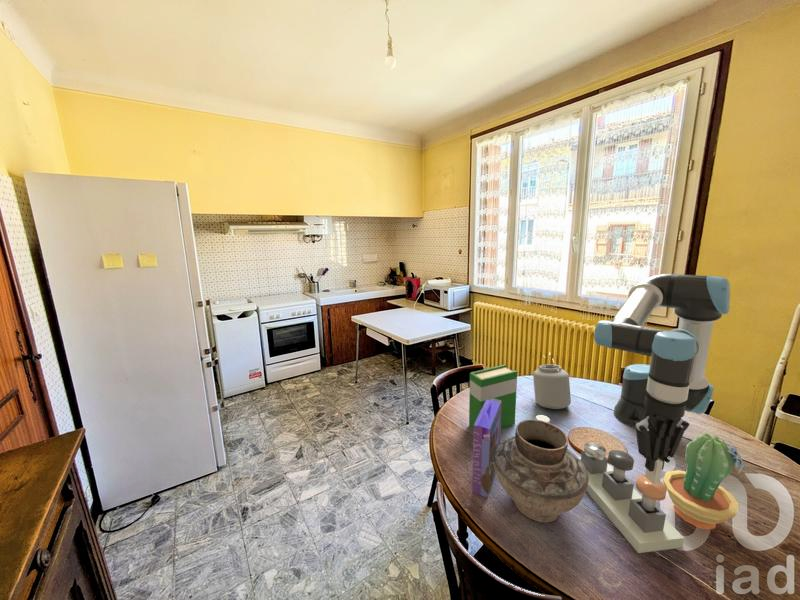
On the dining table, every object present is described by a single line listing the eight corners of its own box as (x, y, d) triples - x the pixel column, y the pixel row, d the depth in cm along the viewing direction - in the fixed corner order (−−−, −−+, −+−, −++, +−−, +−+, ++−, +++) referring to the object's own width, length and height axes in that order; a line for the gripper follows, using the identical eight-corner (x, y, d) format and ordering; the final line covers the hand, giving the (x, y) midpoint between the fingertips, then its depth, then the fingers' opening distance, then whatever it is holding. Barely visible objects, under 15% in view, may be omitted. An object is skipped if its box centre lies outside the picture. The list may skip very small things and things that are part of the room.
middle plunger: (620, 469, 95) (622, 449, 93) (636, 484, 89) (639, 463, 88) (601, 471, 94) (603, 450, 93) (616, 486, 89) (619, 465, 87)
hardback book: (502, 415, 138) (504, 364, 133) (514, 424, 131) (517, 371, 126) (469, 425, 132) (469, 372, 127) (479, 435, 125) (481, 380, 120)
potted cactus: (715, 551, 78) (735, 464, 73) (646, 503, 92) (659, 428, 87) (745, 526, 84) (765, 445, 79) (677, 485, 98) (690, 413, 93)
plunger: (595, 459, 106) (597, 441, 104) (608, 472, 100) (610, 453, 98) (578, 461, 105) (580, 443, 104) (590, 474, 99) (592, 455, 98)
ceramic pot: (568, 477, 102) (574, 412, 97) (598, 552, 79) (608, 471, 74) (489, 468, 108) (491, 405, 103) (495, 535, 84) (498, 458, 79)
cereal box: (487, 498, 96) (489, 428, 91) (472, 492, 98) (473, 424, 93) (499, 461, 111) (501, 400, 106) (485, 457, 113) (487, 397, 108)
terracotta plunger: (648, 496, 85) (652, 474, 84) (668, 515, 79) (673, 492, 78) (627, 498, 85) (631, 476, 83) (646, 518, 79) (650, 494, 77)
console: (598, 462, 108) (600, 442, 107) (682, 547, 79) (687, 521, 78) (565, 466, 108) (567, 445, 106) (638, 553, 78) (642, 526, 77)
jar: (522, 396, 153) (525, 347, 148) (548, 391, 156) (552, 344, 151) (549, 417, 135) (553, 363, 130) (577, 411, 139) (583, 359, 133)
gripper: (675, 386, 79) (662, 466, 84) (627, 390, 78) (616, 471, 83) (706, 402, 72) (689, 489, 77) (654, 406, 71) (640, 494, 76)
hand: (652, 479), depth 80 cm, fingers closed
